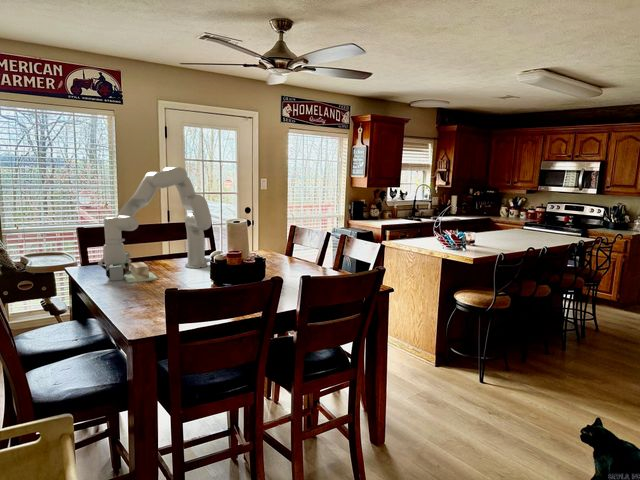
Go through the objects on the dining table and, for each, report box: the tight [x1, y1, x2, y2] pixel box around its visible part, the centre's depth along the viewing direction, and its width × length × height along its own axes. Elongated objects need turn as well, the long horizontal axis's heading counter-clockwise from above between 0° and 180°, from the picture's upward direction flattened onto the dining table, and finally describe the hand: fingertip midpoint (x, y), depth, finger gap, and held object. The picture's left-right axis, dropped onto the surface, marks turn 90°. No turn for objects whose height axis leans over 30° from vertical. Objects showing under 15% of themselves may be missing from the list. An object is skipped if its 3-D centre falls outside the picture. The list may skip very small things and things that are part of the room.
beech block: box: [130, 261, 150, 279], centre depth 226 cm, size 6×12×6 cm, turn 34°
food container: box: [112, 250, 131, 273], centre depth 240 cm, size 12×6×10 cm, turn 168°
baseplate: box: [123, 271, 158, 284], centre depth 226 cm, size 14×14×1 cm
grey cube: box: [108, 265, 125, 281], centre depth 223 cm, size 6×6×6 cm
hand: (115, 276), depth 223 cm, fingers closed on grey cube, 6 cm apart
